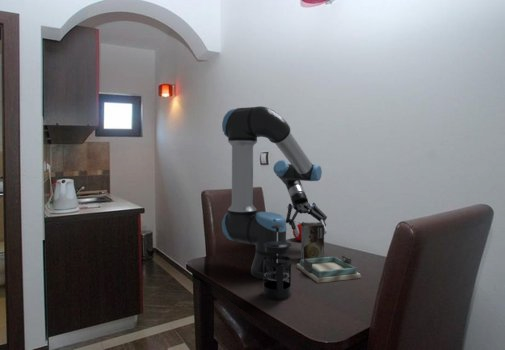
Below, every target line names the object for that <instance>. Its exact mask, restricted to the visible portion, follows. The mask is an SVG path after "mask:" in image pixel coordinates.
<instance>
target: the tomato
mask: <svg viewBox="0 0 505 350" xmlns="http://www.w3.org/2000/svg"><path fill="white" fill-rule="evenodd" d="M301 223H305V222H304V221H302V222H297V227H298V230H299V232H300V234H299V236H298V237H296V234H295V231H294V230H293V229H292V234H293V237H294V238H295V239H296V240H297V241H300V242H301Z"/></svg>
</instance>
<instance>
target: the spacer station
mask: <svg viewBox="0 0 505 350" xmlns="http://www.w3.org/2000/svg"><path fill="white" fill-rule="evenodd" d="M296 268H297V269H298V270H299V271H300V272H302V273H303V274H305V276H307V277H309V278H310V279H311V280H313V281H315V282H316V284H321V283H330V282H337V281H346V280H347V281H348V280H356V279H357V280H358V279H361V278H362V275H361V273H359V272H358V268H357V267H356V266H353V265H352V258H351V257H348V256H346V255H343V254H342V255H341V259H340V258H339V257H337V256H324V258H313V259H302V258H301V259H300V261H299V263H296Z"/></svg>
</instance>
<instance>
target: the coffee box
mask: <svg viewBox="0 0 505 350" xmlns="http://www.w3.org/2000/svg"><path fill="white" fill-rule="evenodd" d="M300 223H301V241H300V243H301V244H300V245H301V247H300V248H301V253H300V254H301V255H300V257H301V258H300V259H301V260H302V259H313V258H324V257H325V235H324V225H323V224H322V223H321V222H320V221H318V222H304V223H302V222H300Z"/></svg>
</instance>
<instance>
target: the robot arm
mask: <svg viewBox="0 0 505 350" xmlns="http://www.w3.org/2000/svg"><path fill="white" fill-rule="evenodd" d="M221 124H222V125H221V126H222V127H221V128H222V132H223V135H224V136H225V137H226V138H227V142H228V143H229V144H230V145H231V205H230V206H229V207H228V208H227V212H226V213H225V214H224V216H223V218H222V221H221V228H222V233H223V235H224V237H226V239H228V240H230V241H233V242H235V243H244V244H249V245H255V255H254V258H253V261H252V264H251V266H250V275H251V276H253V277H254V278H256V279H259V280H263V281H264V257H266V256H270V255H277V254H271V253H267V252H266V251H265V246H264V243H266V242H269V241H277V232H276V228H271V226H274V225H281V226H283V227H284V228H280V229H279V232H278V241H283V242H287V230H288V229H287V224H288V225H289V226H290V227H291V229H292V231H293V230H294V231H295V234H296V237H298V236H299V234H300V232H299V230H298V227H297V225H298V223H297V221H296V220H295V219H296V217H297V216H298V214H299V215H300V214H308V215H311V216H312V217H313V218H314V219H316V220H317V221H318V222H321V223H322V224H323V225H324V236H325V235H326V234H327V232H328V229H327V224H326V220H327V218H328V216H327V215H326V214H325V213H324V212H323V211H322V210H321V209H320V208H319V207H318V206H317V204H316V203H315V202H312V203H309V200H308V197H307V194H306V192H305V190H304V187H303V185H302V182H303V181H304V182H305V181H306V182H318V181H320V180H321V178H322V173H323V171H322V167H321V165H319V164H313V163H312V162H311V160H310V159H309V157H308V156H307V154H306V153H305V152H304V150H303V148H302V147H301V145H299V143H298V141H297V139H296V138H295V137H294V135H293V134H292V133H291V126H290V125H289V123H288V122H287V121H286V119H285V118H284V117H282V116H281V115H280V114H279V113H278V112H276V111H275V110H273V109H272V108H269V107H266V106H254V107H253V106H251V107H237V108H234V109H230V110H228V111H227V112H226V113H225V114H224V116H223V119H222V123H221ZM260 137H262V138H266V139H268V140H269V142H271V143H272V144H275V145H276V147H277V148H278V149H279V151H281V153H282V154H283V156H284V157H285V158H286V159H287V160H288V162H289V163H288V162H287V161H286V160H283V159H281V160H278V161H277V162H276V163H274V165H273V168H272V169H273V173H275V175H276V177H278V179H280V180H281V181H282V182H283V184H284V185H285V186H286V189H287V191H288V195H289V198H290V201H291V203H288V205H287V213H286V218H285V217H284V216H283V215H281V214H280V213H276V212H271V211H269V212H268V211H258V212H257V208H256V206H254V204H253V202H254V146H255V145H256V144H257V142H258V138H260ZM301 181H302V182H301ZM293 209H294V210H295V212H294V213H293V216H292V217H291V215H292V211H293ZM278 255H283V256H287V253H285V254H278ZM266 261H268V262H272V263H273V259H270V260H266ZM284 262H288V261H287V260H283V259H278V263H284ZM272 268H273V267H271V266H267V265H265V274H266V273H268V272H272ZM283 272H285V273H288V274H289V266H285V267H283ZM265 281H268V280H267V279H266V278H265Z"/></svg>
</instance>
